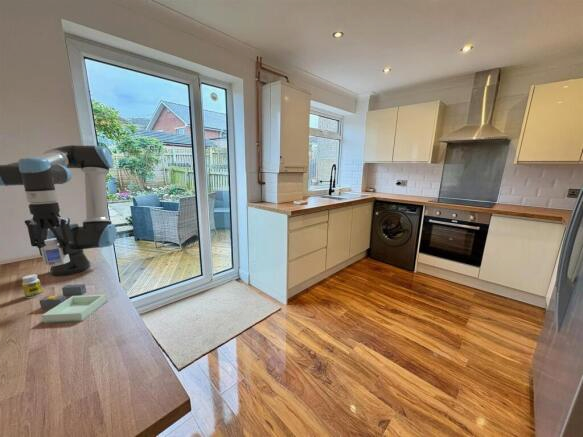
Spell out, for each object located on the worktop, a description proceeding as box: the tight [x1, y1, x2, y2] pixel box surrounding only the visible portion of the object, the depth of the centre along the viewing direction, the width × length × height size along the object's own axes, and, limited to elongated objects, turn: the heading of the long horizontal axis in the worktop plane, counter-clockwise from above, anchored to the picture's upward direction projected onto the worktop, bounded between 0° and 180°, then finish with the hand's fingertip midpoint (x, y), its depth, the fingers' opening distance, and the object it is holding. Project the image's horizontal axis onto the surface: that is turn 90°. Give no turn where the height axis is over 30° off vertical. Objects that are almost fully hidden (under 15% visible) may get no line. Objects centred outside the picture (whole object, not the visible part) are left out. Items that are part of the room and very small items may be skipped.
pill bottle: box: [43, 238, 62, 267], centre depth 89 cm, size 5×5×10 cm
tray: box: [41, 293, 108, 324], centre depth 84 cm, size 12×12×3 cm
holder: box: [39, 283, 87, 310], centre depth 92 cm, size 12×7×4 cm, turn 4°
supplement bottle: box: [21, 274, 43, 299], centre depth 96 cm, size 5×5×8 cm
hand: (57, 262), depth 90 cm, fingers closed on pill bottle, 5 cm apart
